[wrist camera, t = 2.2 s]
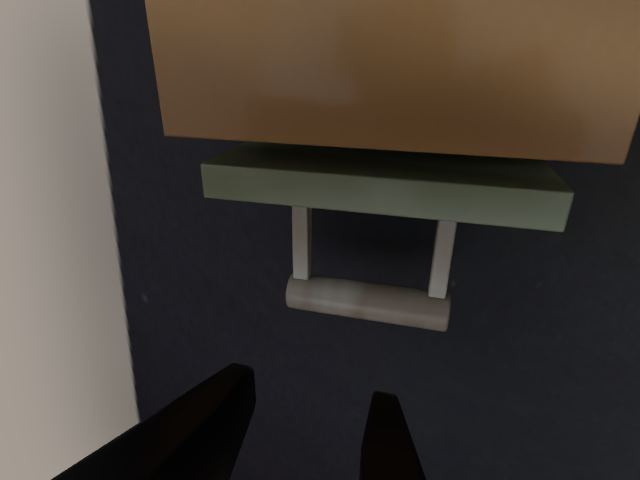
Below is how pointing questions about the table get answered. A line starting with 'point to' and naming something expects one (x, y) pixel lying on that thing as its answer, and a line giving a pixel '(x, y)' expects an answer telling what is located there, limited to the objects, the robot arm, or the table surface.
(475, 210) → the drawer
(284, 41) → the cabinet
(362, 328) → the table surface
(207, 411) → the robot arm
